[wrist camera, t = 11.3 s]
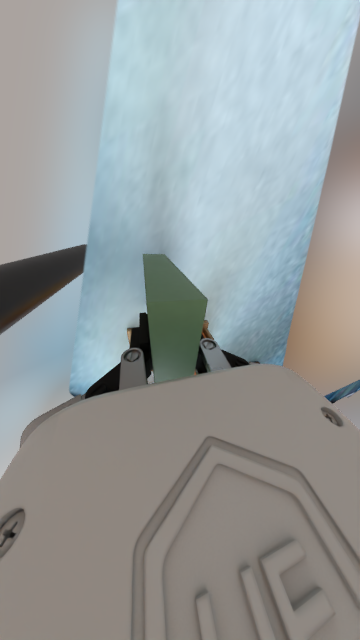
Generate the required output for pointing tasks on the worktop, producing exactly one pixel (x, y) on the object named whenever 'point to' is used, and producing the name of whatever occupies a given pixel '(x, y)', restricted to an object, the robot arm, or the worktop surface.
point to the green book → (172, 318)
